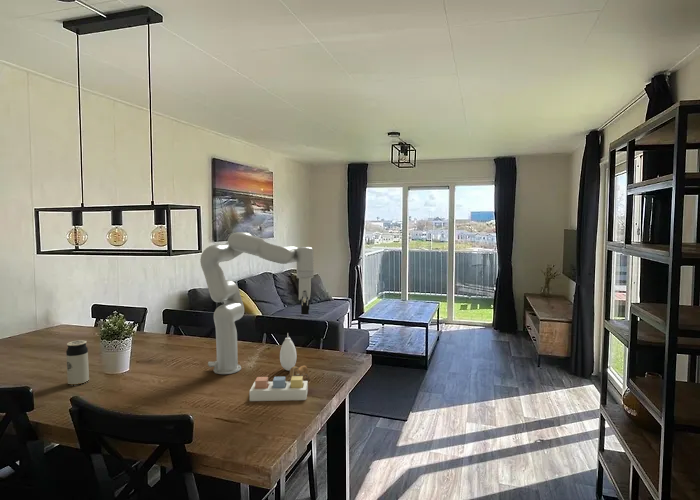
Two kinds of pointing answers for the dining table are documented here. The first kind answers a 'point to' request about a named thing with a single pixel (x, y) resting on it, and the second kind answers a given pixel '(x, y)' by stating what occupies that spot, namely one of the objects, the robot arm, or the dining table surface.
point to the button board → (279, 392)
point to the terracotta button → (261, 383)
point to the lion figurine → (299, 371)
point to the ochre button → (296, 381)
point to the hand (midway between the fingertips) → (305, 312)
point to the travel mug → (77, 362)
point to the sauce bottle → (288, 354)
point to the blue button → (279, 382)
